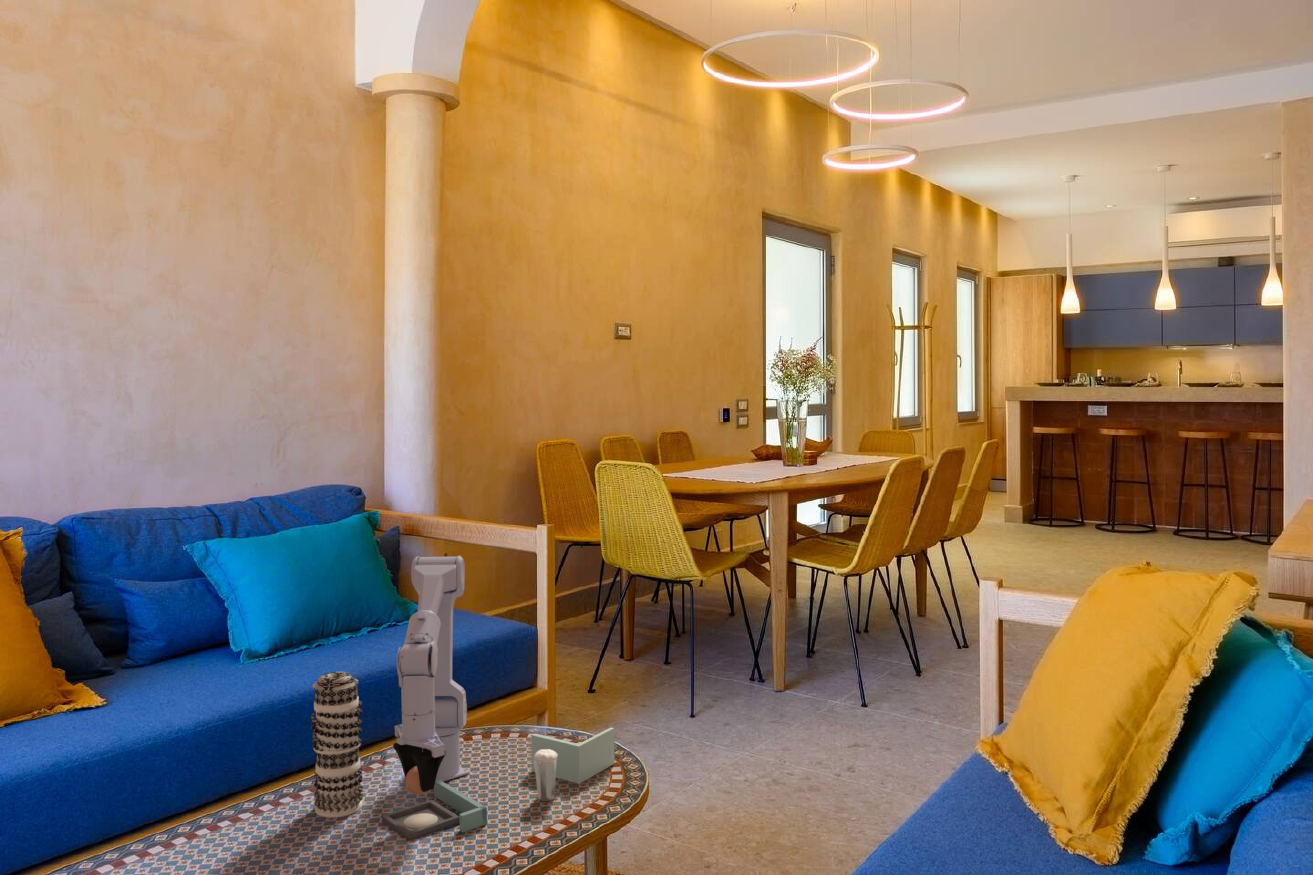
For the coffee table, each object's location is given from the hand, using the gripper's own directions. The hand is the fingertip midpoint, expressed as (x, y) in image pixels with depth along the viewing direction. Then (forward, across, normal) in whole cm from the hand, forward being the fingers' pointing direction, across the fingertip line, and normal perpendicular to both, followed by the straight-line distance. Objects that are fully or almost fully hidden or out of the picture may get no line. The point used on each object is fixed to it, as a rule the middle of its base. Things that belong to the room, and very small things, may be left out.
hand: (419, 785), depth 177 cm
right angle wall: (+7, -2, +36) cm, 36 cm away
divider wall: (+7, 0, +6) cm, 9 cm away
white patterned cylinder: (+7, -16, -8) cm, 19 cm away
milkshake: (+7, +7, +23) cm, 25 cm away
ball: (+2, 0, 0) cm, 2 cm away
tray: (+7, 0, 0) cm, 7 cm away
